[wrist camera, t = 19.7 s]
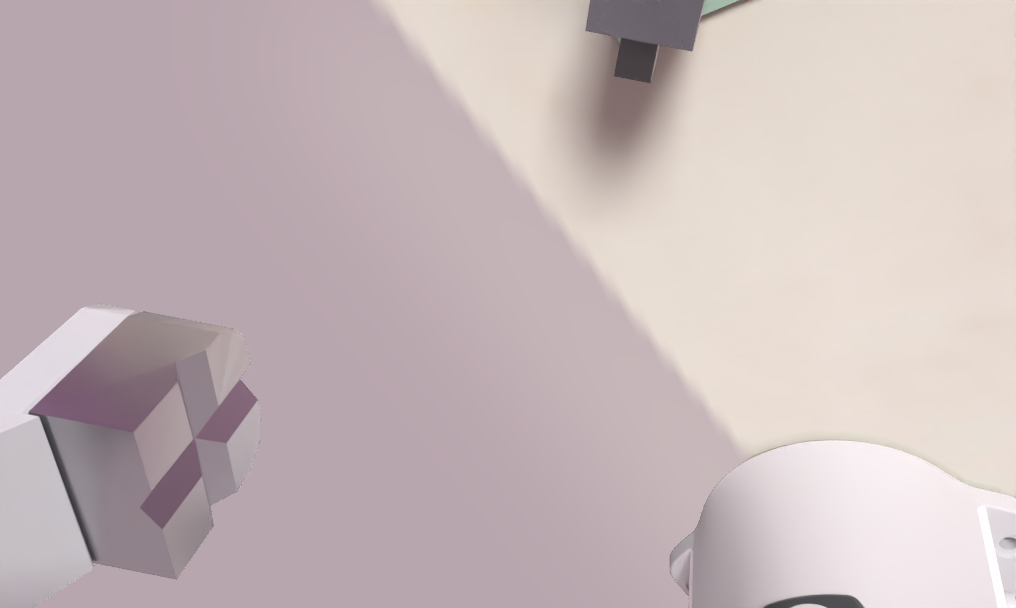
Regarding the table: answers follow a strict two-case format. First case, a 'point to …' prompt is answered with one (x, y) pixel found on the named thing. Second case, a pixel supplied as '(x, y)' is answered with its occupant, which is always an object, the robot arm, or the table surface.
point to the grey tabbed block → (645, 30)
